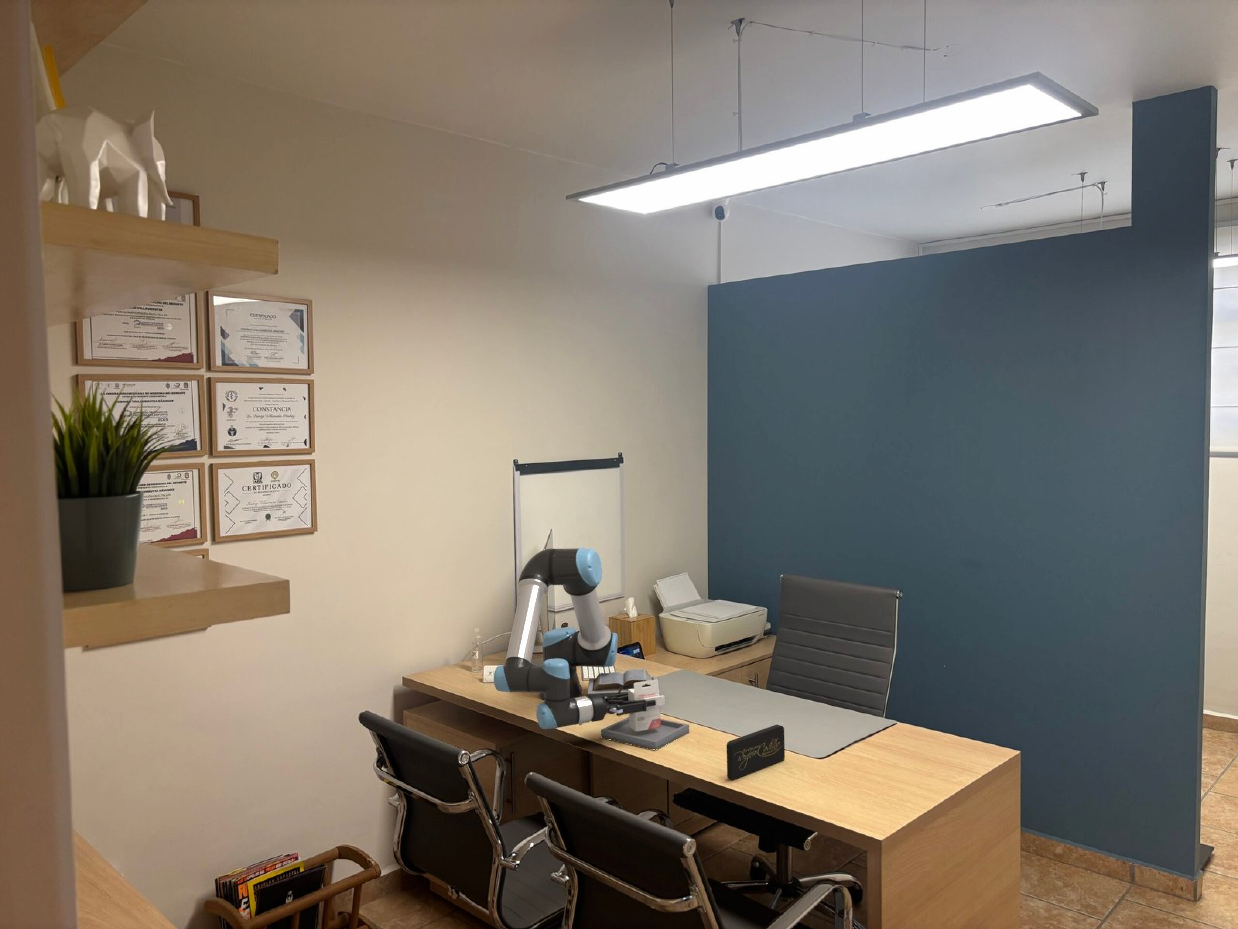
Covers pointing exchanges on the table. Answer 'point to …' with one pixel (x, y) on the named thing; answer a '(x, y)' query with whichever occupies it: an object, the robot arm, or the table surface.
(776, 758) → the nameplate
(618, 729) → the desk tray
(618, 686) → the bible
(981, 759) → the table surface
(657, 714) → the ink cartridge box
